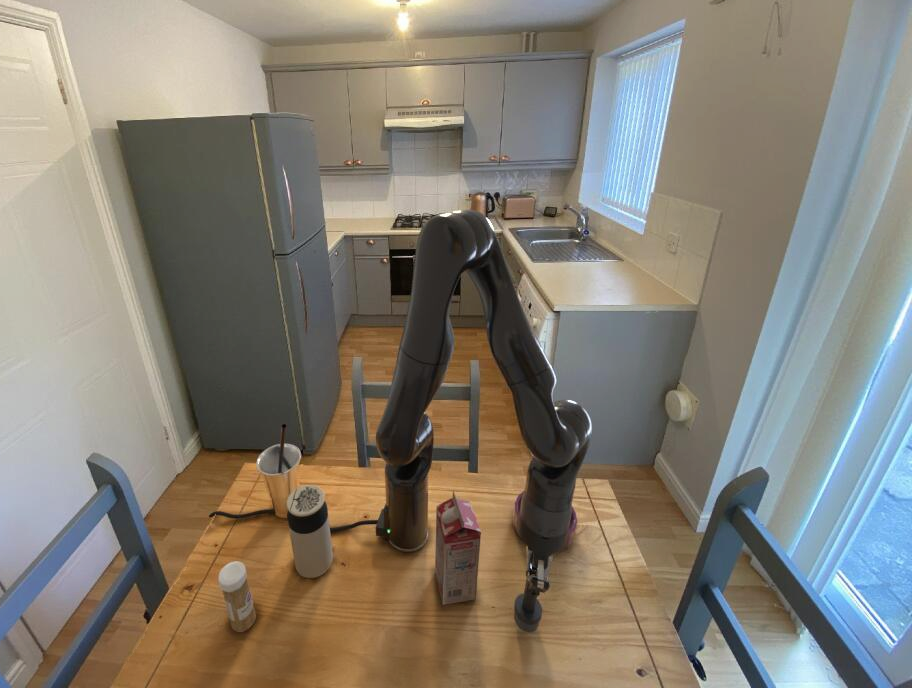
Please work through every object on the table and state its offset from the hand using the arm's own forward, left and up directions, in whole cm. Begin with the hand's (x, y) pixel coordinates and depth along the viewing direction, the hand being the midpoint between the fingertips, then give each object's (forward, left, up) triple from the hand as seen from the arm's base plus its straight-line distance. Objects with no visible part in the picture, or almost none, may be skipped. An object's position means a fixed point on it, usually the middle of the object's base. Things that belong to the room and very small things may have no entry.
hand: (532, 584), depth 74 cm
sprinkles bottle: (-52, -12, -11) cm, 54 cm away
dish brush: (0, 0, -10) cm, 10 cm away
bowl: (+4, +22, -11) cm, 25 cm away
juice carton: (-14, +4, -11) cm, 18 cm away
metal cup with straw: (-56, +13, -11) cm, 58 cm away
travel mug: (-44, +2, -11) cm, 45 cm away
